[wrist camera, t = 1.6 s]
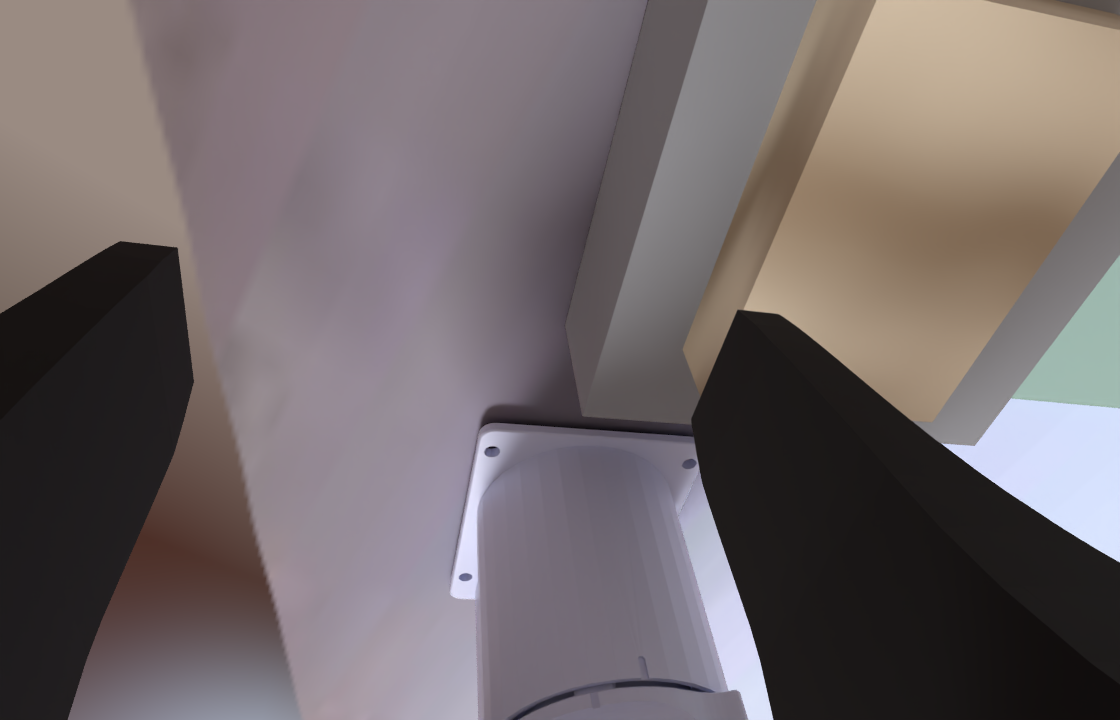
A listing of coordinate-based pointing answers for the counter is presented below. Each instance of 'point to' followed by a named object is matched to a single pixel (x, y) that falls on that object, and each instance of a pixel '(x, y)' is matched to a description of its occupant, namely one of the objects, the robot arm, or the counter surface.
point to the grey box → (711, 201)
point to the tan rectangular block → (916, 183)
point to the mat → (1083, 353)
